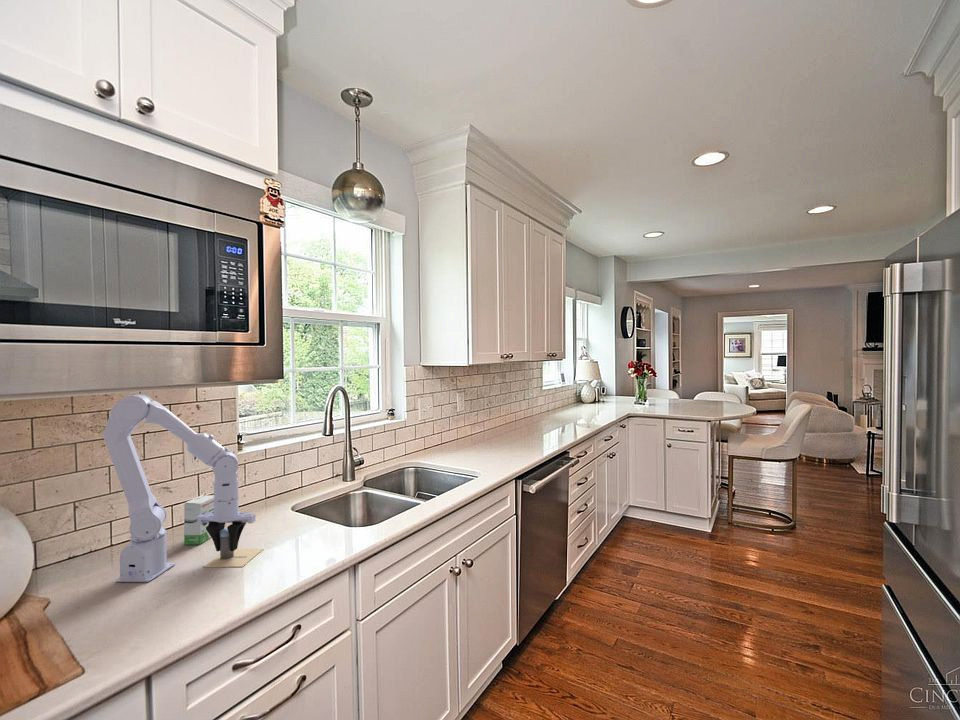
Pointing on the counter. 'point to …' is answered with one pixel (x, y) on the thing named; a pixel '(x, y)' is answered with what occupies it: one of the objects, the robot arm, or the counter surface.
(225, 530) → the marker
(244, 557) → the tan square board
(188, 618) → the counter surface
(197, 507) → the ink box
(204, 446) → the robot arm
